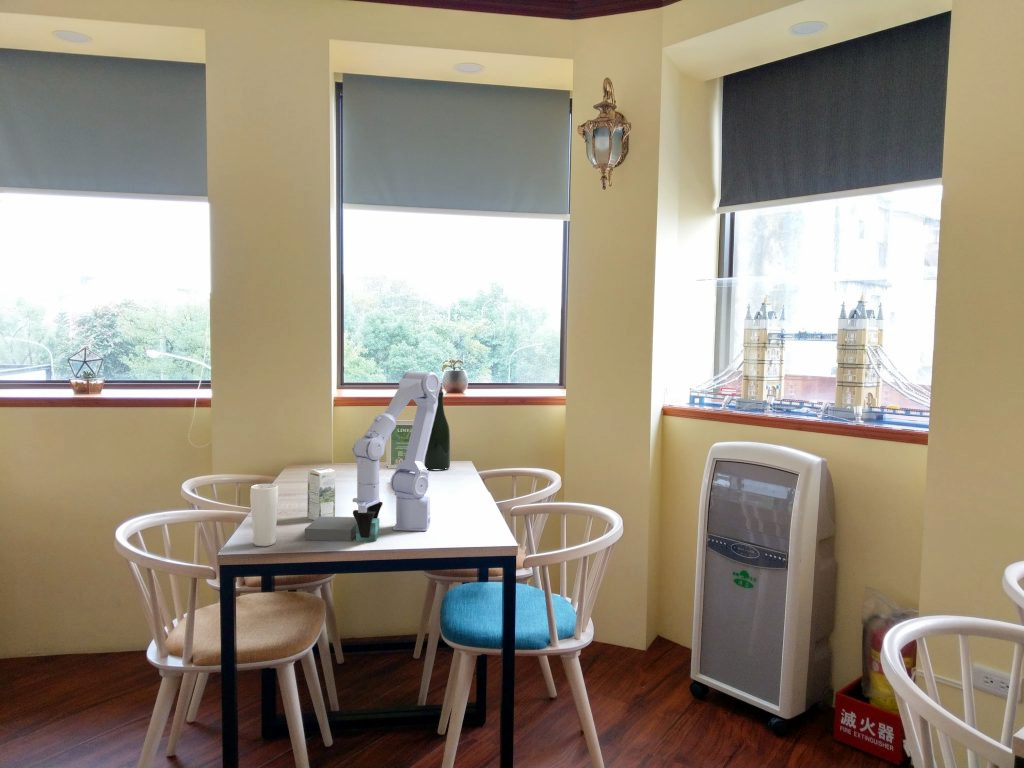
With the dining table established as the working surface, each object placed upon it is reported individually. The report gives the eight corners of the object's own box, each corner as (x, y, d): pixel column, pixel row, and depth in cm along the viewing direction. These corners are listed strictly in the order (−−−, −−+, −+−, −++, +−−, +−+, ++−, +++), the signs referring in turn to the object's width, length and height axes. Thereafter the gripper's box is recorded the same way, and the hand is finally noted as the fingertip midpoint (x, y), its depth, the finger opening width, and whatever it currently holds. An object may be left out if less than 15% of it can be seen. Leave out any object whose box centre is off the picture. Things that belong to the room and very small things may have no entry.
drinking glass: (266, 549, 180) (265, 489, 179) (244, 546, 182) (244, 487, 181) (284, 542, 186) (284, 484, 185) (263, 539, 188) (262, 482, 187)
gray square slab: (361, 527, 201) (361, 517, 201) (350, 540, 188) (350, 529, 188) (319, 526, 201) (319, 516, 201) (305, 539, 188) (305, 528, 188)
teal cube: (379, 536, 193) (379, 518, 193) (375, 541, 188) (375, 523, 188) (360, 536, 193) (360, 517, 193) (356, 541, 188) (356, 522, 188)
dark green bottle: (423, 466, 297) (424, 387, 295) (448, 466, 299) (449, 387, 297) (425, 471, 287) (425, 388, 285) (451, 470, 289) (452, 389, 287)
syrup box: (323, 515, 215) (323, 466, 214) (335, 518, 211) (335, 469, 210) (307, 518, 210) (307, 469, 209) (319, 522, 207) (319, 472, 206)
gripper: (359, 476, 197) (359, 525, 198) (346, 487, 182) (346, 540, 183) (385, 477, 197) (384, 526, 198) (374, 488, 182) (373, 541, 183)
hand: (368, 533), depth 190 cm, fingers open, 7 cm apart
